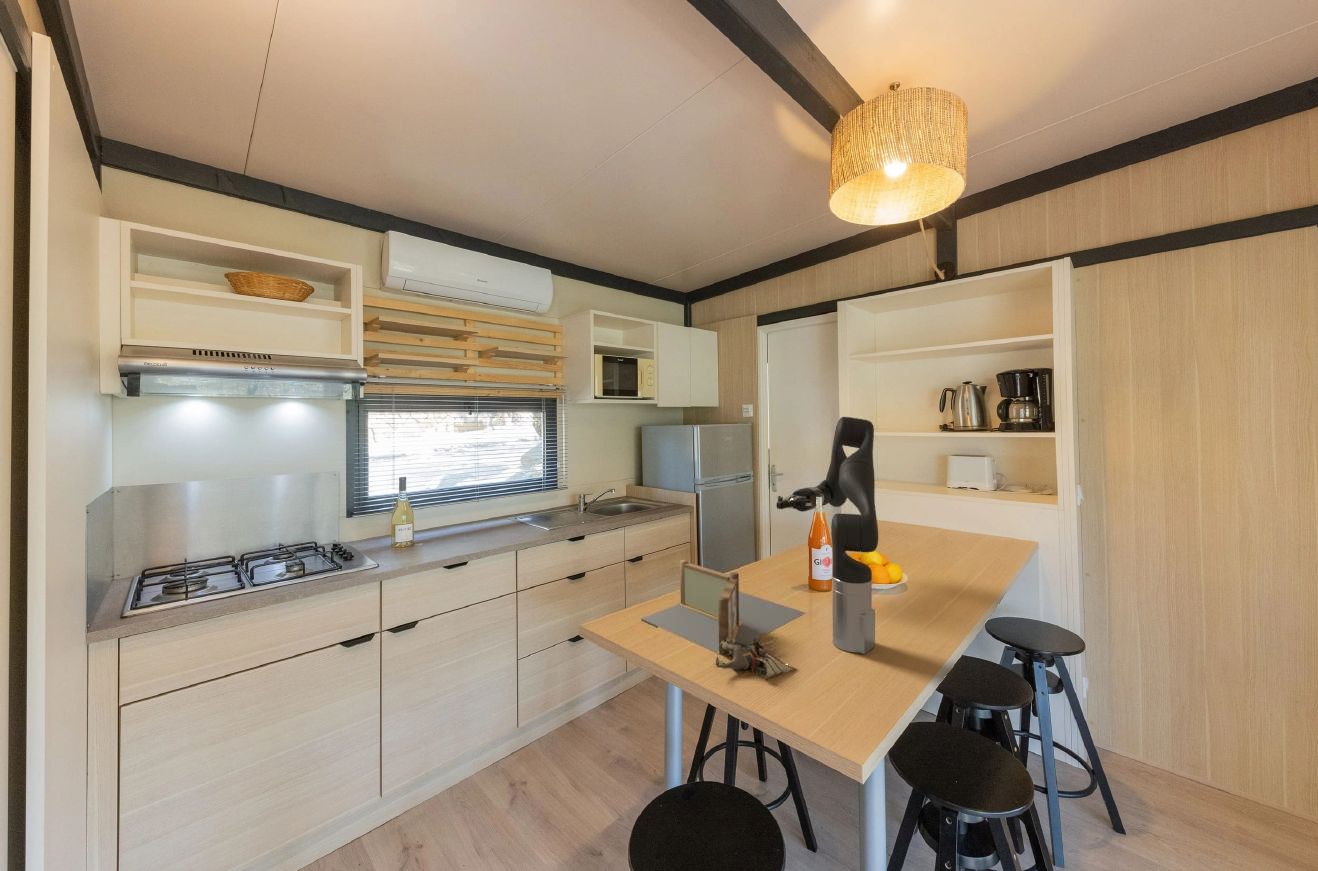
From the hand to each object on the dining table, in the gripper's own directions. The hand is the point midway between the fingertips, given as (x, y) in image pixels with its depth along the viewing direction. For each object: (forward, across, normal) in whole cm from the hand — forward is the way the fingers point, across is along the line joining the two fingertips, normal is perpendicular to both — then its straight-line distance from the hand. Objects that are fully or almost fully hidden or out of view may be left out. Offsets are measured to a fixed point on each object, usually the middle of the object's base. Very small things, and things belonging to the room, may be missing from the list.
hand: (778, 505), depth 152 cm
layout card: (+23, -4, +30) cm, 38 cm away
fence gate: (+25, -9, +29) cm, 39 cm away
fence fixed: (+33, +6, +29) cm, 44 cm away
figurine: (+40, +20, +31) cm, 54 cm away
